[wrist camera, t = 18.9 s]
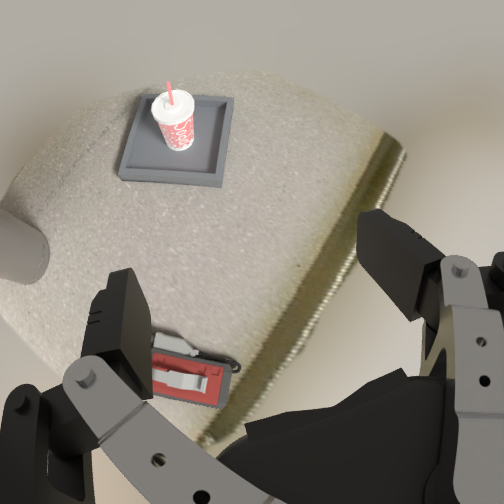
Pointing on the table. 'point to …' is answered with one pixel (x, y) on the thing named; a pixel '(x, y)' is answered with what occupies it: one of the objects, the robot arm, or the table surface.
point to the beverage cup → (175, 117)
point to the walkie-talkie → (189, 373)
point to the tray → (186, 161)
